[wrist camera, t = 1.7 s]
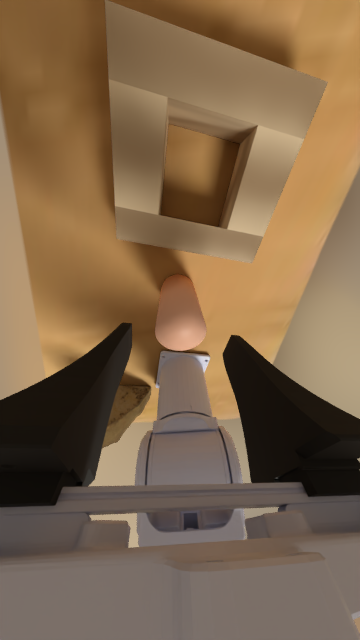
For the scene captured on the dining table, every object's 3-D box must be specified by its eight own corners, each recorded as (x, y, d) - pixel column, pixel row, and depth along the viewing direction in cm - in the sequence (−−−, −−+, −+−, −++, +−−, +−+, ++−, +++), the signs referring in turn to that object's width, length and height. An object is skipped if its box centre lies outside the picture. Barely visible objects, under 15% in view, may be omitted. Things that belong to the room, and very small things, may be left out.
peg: (190, 307, 20) (199, 352, 13) (159, 303, 19) (153, 348, 13) (197, 277, 18) (212, 313, 11) (163, 271, 17) (157, 306, 11)
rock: (162, 390, 26) (100, 382, 22) (150, 451, 23) (76, 455, 19) (143, 382, 35) (97, 375, 31) (133, 425, 33) (80, 423, 28)
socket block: (240, 256, 17) (252, 263, 14) (125, 235, 15) (116, 239, 13) (293, 111, 11) (327, 82, 9) (122, 55, 10) (104, -1, 7)
